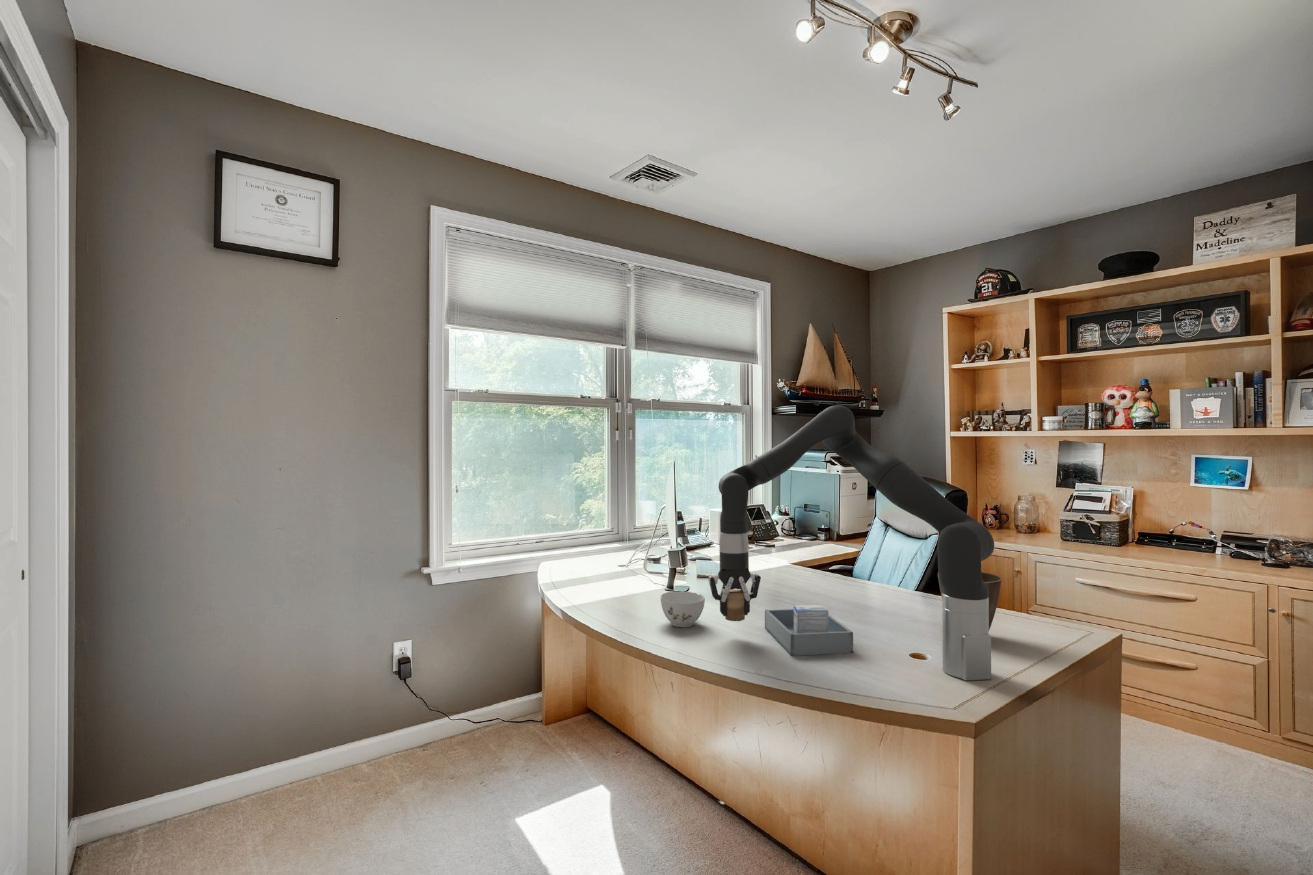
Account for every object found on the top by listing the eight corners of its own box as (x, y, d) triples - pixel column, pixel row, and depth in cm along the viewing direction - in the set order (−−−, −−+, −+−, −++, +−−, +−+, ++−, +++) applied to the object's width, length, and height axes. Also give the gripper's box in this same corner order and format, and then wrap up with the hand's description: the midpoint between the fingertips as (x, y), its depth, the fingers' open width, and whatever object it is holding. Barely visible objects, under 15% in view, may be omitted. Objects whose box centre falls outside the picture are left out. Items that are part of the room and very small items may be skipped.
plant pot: (928, 636, 162) (928, 575, 162) (949, 624, 173) (949, 567, 173) (990, 650, 152) (990, 585, 152) (1009, 636, 162) (1009, 575, 162)
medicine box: (824, 638, 159) (824, 605, 159) (828, 644, 155) (828, 609, 155) (793, 638, 159) (793, 605, 160) (797, 644, 155) (796, 609, 155)
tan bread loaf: (746, 620, 160) (746, 593, 160) (727, 621, 159) (727, 594, 159) (741, 615, 165) (741, 589, 165) (723, 616, 164) (723, 589, 164)
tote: (853, 652, 151) (853, 632, 151) (790, 655, 149) (790, 634, 149) (819, 626, 172) (819, 608, 172) (764, 628, 170) (764, 610, 170)
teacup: (694, 634, 166) (694, 604, 166) (652, 628, 171) (652, 599, 171) (714, 619, 179) (714, 591, 179) (675, 613, 185) (674, 587, 185)
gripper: (756, 546, 167) (757, 610, 167) (704, 548, 165) (705, 612, 165) (764, 551, 159) (765, 617, 159) (709, 553, 158) (710, 620, 157)
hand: (734, 614), depth 162 cm, fingers closed on tan bread loaf, 5 cm apart
